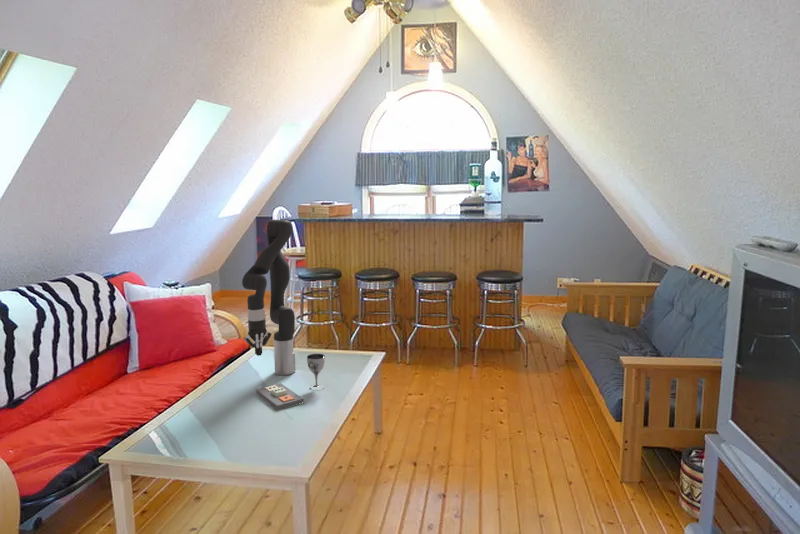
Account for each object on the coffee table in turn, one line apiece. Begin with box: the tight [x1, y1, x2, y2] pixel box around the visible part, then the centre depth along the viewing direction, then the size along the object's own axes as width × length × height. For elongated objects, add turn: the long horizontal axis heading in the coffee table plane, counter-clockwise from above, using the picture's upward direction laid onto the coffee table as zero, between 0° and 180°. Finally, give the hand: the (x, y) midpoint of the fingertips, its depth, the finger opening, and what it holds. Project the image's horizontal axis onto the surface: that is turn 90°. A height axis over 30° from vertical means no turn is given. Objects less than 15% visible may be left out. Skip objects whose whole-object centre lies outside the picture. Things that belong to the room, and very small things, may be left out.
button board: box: [255, 382, 304, 411], centre depth 242 cm, size 12×22×2 cm, turn 37°
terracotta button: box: [279, 395, 294, 403], centre depth 237 cm, size 5×5×3 cm
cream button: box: [264, 384, 278, 392], centre depth 248 cm, size 5×5×3 cm
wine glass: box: [306, 353, 326, 387], centre depth 253 cm, size 8×8×15 cm
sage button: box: [272, 387, 287, 397], centre depth 242 cm, size 5×5×3 cm
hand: (258, 355), depth 250 cm, fingers closed
